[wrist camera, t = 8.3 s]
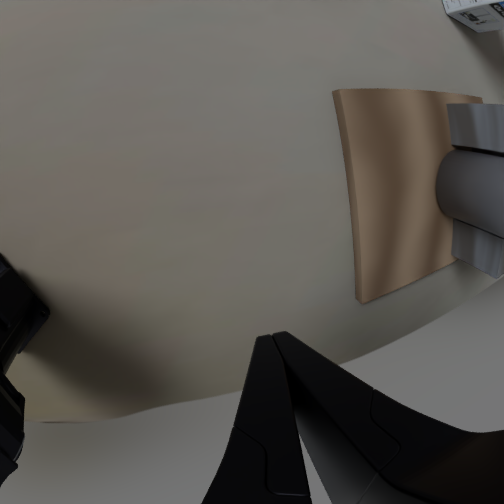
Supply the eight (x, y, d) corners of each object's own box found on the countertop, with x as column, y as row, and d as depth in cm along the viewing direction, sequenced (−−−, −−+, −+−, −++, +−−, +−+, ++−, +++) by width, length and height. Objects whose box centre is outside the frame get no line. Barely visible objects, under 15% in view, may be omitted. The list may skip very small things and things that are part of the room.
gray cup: (435, 226, 21) (530, 271, 12) (432, 149, 18) (542, 170, 9) (473, 211, 22) (555, 244, 12) (472, 145, 19) (562, 164, 10)
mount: (355, 298, 23) (407, 346, 16) (331, 91, 17) (401, 74, 10) (478, 242, 25) (524, 264, 19) (474, 97, 19) (528, 100, 13)
